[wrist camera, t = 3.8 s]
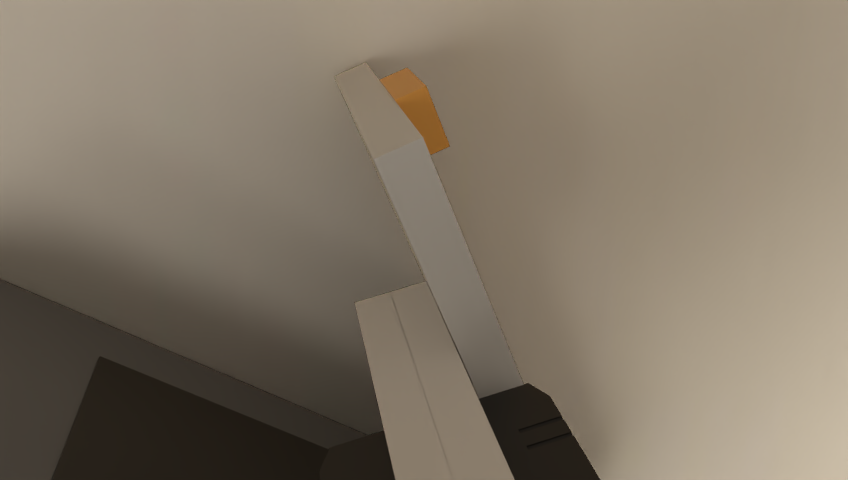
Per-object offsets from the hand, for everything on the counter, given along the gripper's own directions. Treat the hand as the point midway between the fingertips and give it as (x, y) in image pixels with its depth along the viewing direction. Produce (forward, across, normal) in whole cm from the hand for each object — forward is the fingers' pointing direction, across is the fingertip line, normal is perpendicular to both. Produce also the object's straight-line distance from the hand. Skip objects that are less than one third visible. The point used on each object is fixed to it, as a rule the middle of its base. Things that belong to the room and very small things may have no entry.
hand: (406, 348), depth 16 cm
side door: (+4, +2, -2) cm, 5 cm away
